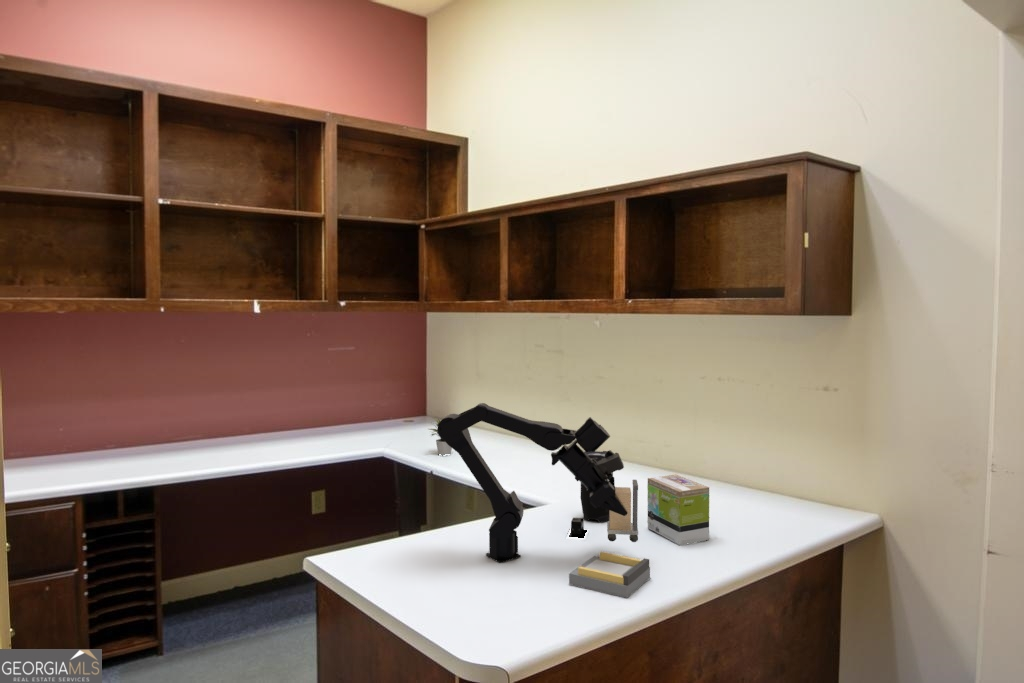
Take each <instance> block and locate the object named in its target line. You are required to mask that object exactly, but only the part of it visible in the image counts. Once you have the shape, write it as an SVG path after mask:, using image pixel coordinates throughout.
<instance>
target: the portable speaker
mask: <svg viewBox="0 0 1024 683" xmlns="http://www.w3.org/2000/svg"><path fill="white" fill-rule="evenodd" d="M607 451H608V450H603V451H597V450H596V451H595V452H592V451H590V452H586V451H585V450H584V451H583V452H584V453H585V454H586V455H587V456H588V457H589V458H590V459H591V458H592V459H593V458H594V459H595V460H596V461H597V462H598V461H600V460H602V458H603V459H604V458H605V452H607ZM612 477H614V474H613V475H612V476H610V475H609V476H608V477H607V478H606V479H608V480H610V479H611V478H612ZM580 503H581V511H582V515H583V517H582V518H583V520H585V521H589V520H597V522H598V523H605V522H609V510H608V509H605V508H602V507H600V506H599V507H597V508H594V507H593V506H592V505H591V504H590V494H589V493H588V491H587V488H586V487H585V486H584V485H583V484H582V483H581V482H580Z"/></svg>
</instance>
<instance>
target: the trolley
mask: <svg viewBox="0 0 1024 683" xmlns="http://www.w3.org/2000/svg"><path fill="white" fill-rule="evenodd" d="M615 490H616V491H615V495H616V497H617V498H618V500H619V501H620V502H621V504H622V505H623V507H624V508H625V510H626V511H627V515H626V516H623V515H620V514H618V513H616V512H613V511H611V510H609V520H608V521H606V522H607V524H606V527H607V528H606V529H607V540H609V541H610V542H615V541H616V540H617V535H625V536H628V537H629V540H630V542H631V543H636V542H638V541H639V536H638V535H639V528H638V508H639V507H638V506H639V505H638V501H639V500H638V499H639V498H638V496H639V495H638V494H639V493H638V492H639V484H638V480H637V479H632V490H631V487H627V486H626V487H624V486H623V487H622V486H618V487H617V486H615Z"/></svg>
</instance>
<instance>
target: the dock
mask: <svg viewBox="0 0 1024 683" xmlns="http://www.w3.org/2000/svg"><path fill="white" fill-rule="evenodd" d="M650 579H651V566H650V559H649V558H645V557H644V558H643V559H639V558H635V557H629V556H624V555H620V554H614V553H609V552H605V551H601V552H599V556H598V555H594V556H592V557H591V558H589V559H587V560H586V561H585V562H584V563H582V564H581V565H578V567H576V568H575V569H573V570H572V571H571V572H569V573H568V585H570V586H573V587H574V586H576V587H578V588H583V589H587V590H592V591H594V592H595V591H596V592H600V593H603V594H609V595H613V596H617V597H621V598H626V599H628V598H629V597H630V596H631V595H633V593H635V592H636V591H637V590H638V589H639V588H641V587H642V585H644V584H645V583H646V582H647V581H649V580H650Z"/></svg>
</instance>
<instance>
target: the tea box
mask: <svg viewBox="0 0 1024 683" xmlns="http://www.w3.org/2000/svg"><path fill="white" fill-rule="evenodd" d="M647 529H649V530H650V531H653V532H654V533H657V534H659V535H660V536H662V537H664V538H665V539H668V540H669V541H671V542H673V543H675V544H676V543H677V544H676V545H678V544H679V545H678V546H683V545H682V544H686V545H688V544H687V543H691V544H695V543H694V542H697V543H700V542H699V541H702V542H705V541H706V540H707V541H709V540H710V486H707V485H705V484H702V483H698V482H696V481H694V480H692V479H689V478H686V477H683V476H680V475H678V474H669V475H664V476H657V477H650V478H649V477H648V478H647Z"/></svg>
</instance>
